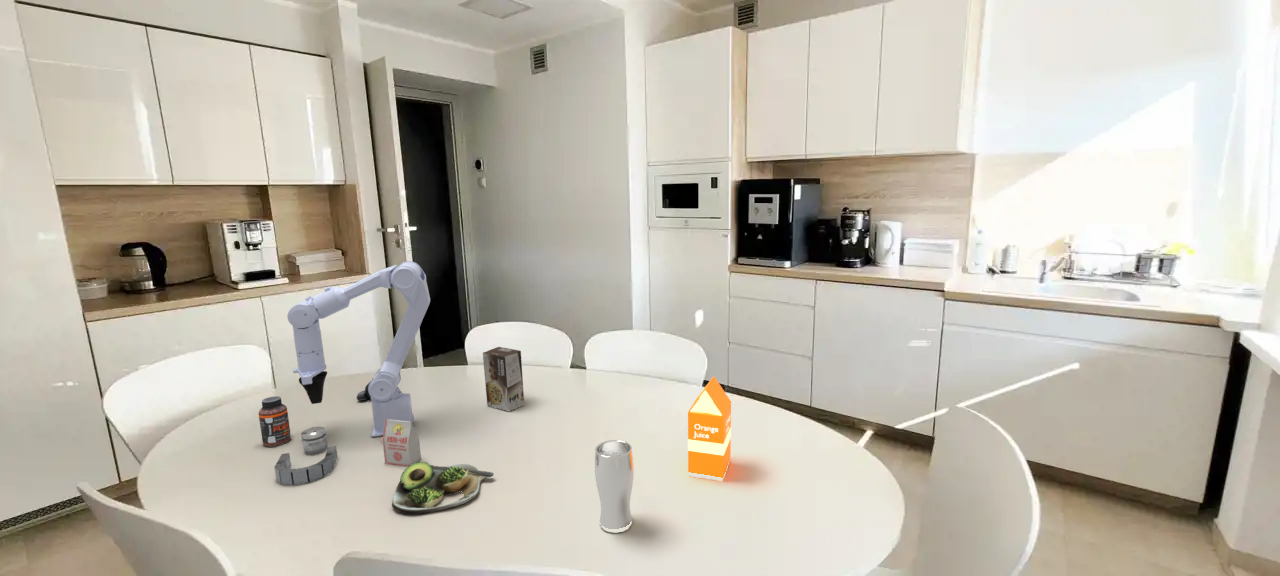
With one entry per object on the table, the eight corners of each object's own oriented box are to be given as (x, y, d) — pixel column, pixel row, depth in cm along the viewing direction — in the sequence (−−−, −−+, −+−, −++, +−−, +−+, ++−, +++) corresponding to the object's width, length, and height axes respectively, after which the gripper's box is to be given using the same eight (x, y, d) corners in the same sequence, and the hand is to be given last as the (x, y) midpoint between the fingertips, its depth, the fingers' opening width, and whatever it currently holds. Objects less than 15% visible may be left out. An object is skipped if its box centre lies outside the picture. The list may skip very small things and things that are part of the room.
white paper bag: (396, 456, 130) (391, 415, 128) (421, 459, 128) (416, 418, 126) (385, 463, 126) (380, 422, 124) (410, 466, 125) (406, 425, 123)
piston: (329, 444, 136) (327, 425, 136) (326, 453, 132) (323, 433, 131) (306, 447, 135) (303, 428, 134) (301, 457, 130) (298, 437, 129)
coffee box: (525, 404, 158) (522, 350, 155) (509, 412, 153) (505, 356, 150) (502, 398, 163) (499, 345, 160) (486, 406, 158) (481, 351, 155)
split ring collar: (337, 457, 130) (336, 445, 129) (330, 479, 120) (328, 466, 119) (283, 466, 126) (281, 454, 125) (271, 489, 116) (269, 476, 116)
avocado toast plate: (495, 463, 126) (493, 444, 125) (492, 506, 109) (491, 485, 108) (404, 474, 122) (402, 455, 121) (387, 522, 105) (384, 499, 104)
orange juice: (731, 462, 124) (732, 376, 120) (723, 482, 115) (724, 391, 112) (696, 457, 126) (696, 373, 122) (687, 476, 118) (686, 387, 114)
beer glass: (596, 513, 105) (594, 440, 102) (633, 511, 106) (631, 438, 103) (597, 536, 98) (594, 458, 96) (636, 534, 99) (634, 456, 96)
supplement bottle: (277, 448, 135) (270, 404, 133) (257, 446, 136) (250, 403, 134) (297, 437, 140) (291, 395, 138) (277, 435, 142) (270, 393, 140)
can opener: (378, 403, 162) (376, 385, 161) (354, 404, 162) (351, 385, 161) (400, 381, 180) (399, 365, 179) (378, 382, 179) (376, 366, 178)
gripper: (297, 344, 141) (304, 394, 144) (283, 360, 128) (291, 416, 130) (328, 341, 144) (335, 390, 146) (318, 357, 130) (325, 411, 133)
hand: (316, 402), depth 138 cm, fingers closed
